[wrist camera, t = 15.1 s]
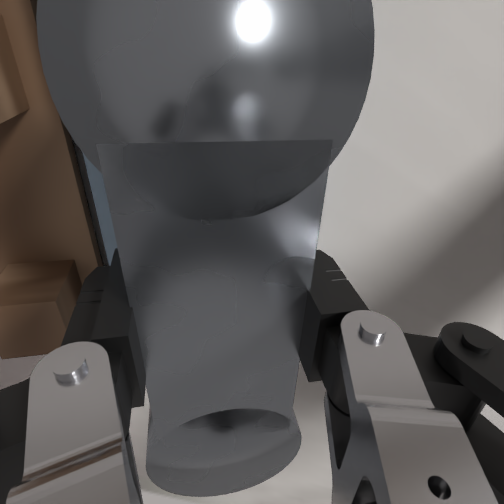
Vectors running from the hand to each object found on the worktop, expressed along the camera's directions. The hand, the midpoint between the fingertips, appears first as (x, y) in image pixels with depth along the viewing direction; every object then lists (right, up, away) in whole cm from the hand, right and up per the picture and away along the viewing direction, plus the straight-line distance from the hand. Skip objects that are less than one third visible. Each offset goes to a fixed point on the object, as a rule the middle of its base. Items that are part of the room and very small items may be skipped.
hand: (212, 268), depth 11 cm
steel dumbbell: (0, 0, +1) cm, 1 cm away
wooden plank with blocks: (-9, +3, +5) cm, 11 cm away
